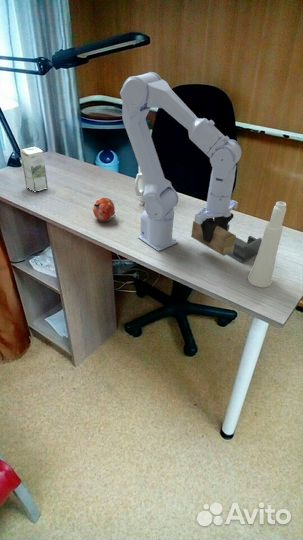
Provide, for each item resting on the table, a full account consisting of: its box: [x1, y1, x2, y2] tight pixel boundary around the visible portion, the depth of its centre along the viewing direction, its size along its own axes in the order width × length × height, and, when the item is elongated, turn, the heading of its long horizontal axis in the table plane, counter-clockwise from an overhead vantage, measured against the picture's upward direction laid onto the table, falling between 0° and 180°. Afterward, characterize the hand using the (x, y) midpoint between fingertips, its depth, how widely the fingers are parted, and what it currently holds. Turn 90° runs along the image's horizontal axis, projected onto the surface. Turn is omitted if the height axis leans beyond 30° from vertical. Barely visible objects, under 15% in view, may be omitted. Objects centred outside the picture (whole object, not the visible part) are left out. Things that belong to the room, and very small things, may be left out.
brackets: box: [225, 223, 262, 264], centre depth 103 cm, size 16×8×5 cm, turn 40°
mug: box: [134, 167, 146, 203], centre depth 123 cm, size 10×7×12 cm, turn 139°
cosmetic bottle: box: [247, 201, 287, 289], centre depth 85 cm, size 6×6×22 cm
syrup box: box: [19, 146, 49, 192], centre depth 127 cm, size 6×6×14 cm
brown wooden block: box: [190, 220, 237, 257], centre depth 96 cm, size 12×4×5 cm, turn 40°
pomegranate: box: [92, 197, 116, 223], centre depth 113 cm, size 7×7×10 cm
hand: (212, 238), depth 96 cm, fingers closed on brown wooden block, 4 cm apart
